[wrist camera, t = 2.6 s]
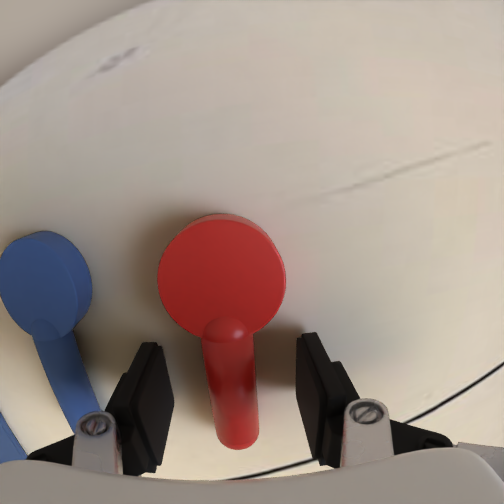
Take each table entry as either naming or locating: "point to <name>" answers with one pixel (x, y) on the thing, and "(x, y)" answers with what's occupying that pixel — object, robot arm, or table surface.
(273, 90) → the table surface
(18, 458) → the blue bin
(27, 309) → the blue spoon
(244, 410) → the red ping pong paddle
